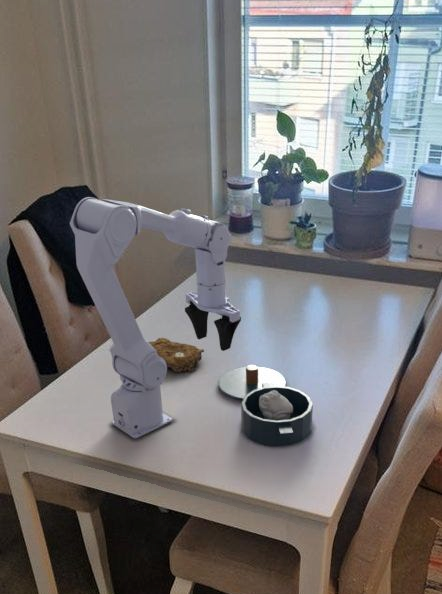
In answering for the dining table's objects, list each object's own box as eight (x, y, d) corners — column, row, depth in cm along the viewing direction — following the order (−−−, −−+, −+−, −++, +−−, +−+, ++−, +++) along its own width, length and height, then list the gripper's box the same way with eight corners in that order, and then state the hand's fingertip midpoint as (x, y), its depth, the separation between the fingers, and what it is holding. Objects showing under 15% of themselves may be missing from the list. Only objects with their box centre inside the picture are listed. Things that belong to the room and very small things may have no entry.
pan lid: (278, 368, 152) (278, 349, 150) (291, 400, 140) (292, 380, 138) (215, 373, 151) (214, 355, 148) (223, 406, 139) (222, 386, 136)
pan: (299, 400, 140) (300, 376, 137) (321, 451, 125) (323, 426, 122) (235, 405, 139) (235, 382, 136) (250, 458, 123) (250, 433, 120)
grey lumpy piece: (268, 413, 135) (269, 382, 131) (299, 423, 132) (300, 392, 128) (252, 427, 131) (252, 396, 127) (283, 437, 128) (284, 406, 124)
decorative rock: (130, 365, 156) (185, 381, 150) (128, 350, 154) (184, 365, 148) (157, 343, 164) (210, 358, 158) (155, 328, 161) (210, 342, 155)
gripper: (250, 285, 131) (251, 348, 139) (202, 267, 141) (205, 327, 148) (224, 295, 128) (225, 359, 135) (176, 276, 137) (180, 337, 144)
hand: (213, 343), depth 141 cm, fingers open, 7 cm apart
